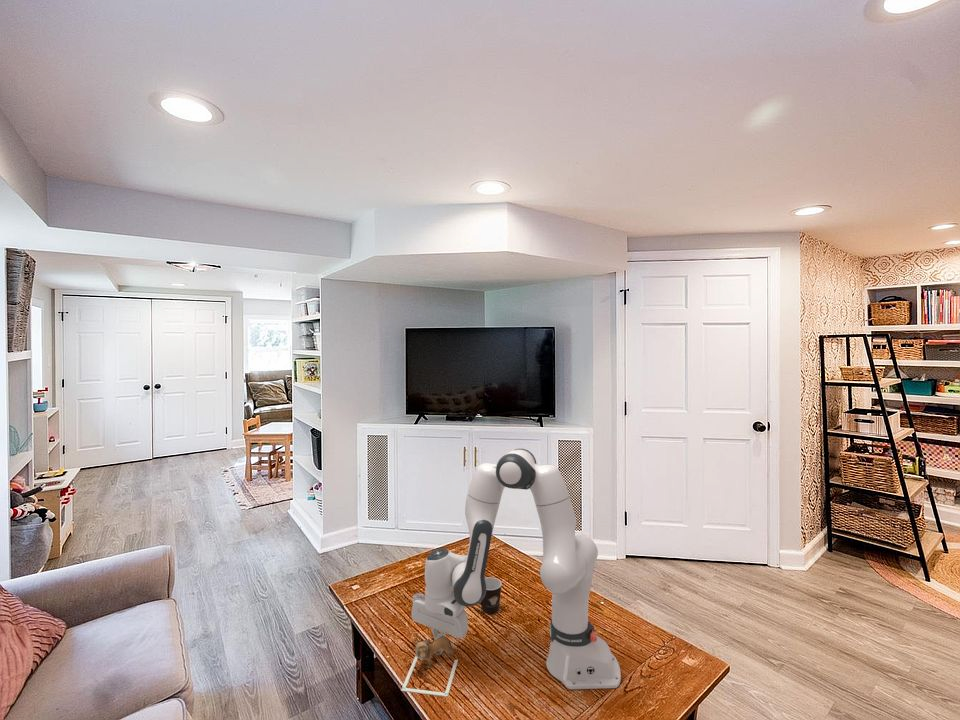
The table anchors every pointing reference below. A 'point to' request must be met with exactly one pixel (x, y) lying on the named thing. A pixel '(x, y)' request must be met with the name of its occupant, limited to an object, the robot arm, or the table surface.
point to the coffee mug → (491, 596)
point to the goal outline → (425, 690)
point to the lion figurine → (432, 649)
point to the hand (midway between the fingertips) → (439, 640)
